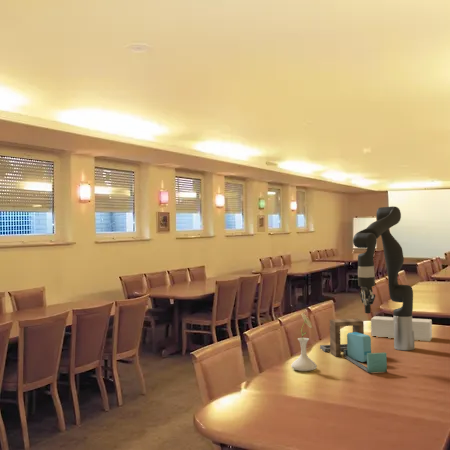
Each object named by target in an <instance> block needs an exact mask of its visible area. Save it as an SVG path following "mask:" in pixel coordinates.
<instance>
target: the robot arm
mask: <svg viewBox="0 0 450 450" xmlns="http://www.w3.org/2000/svg"><path fill="white" fill-rule="evenodd" d="M375 214H376V221H374V222H372V223H370V224H369V225H368V226H367V227H366V228H364V229H361V230H359V231H357V232H356V233H355V235H354V236H353V237H352V243H353V246H355V248H357V249H366V251H365V252H362V253H359V254H358V255H357V283H358V284H357V285H358V287H361V289H360V291H359V292H358V295H359V297H360V301H361V303H362V304H363V306H364V313H365V314H371V313H372V312H371V310H372V309H371V306H372V305H373V304H374V302H375V299H376V294H373V293H374V292H373V287H375V285H376V278H375V277H376V275H375V274H376V273H375V266H374V265H375V263H374V261H375V260H374V256H375V250H376V247H377V242H378V239H379V238H380V237H381V238H380V239H381V242H382V247H383V248H382V249H383V255H384V260H385V266H386V267H385V268H386V273H387V281H388V291H389V292H388V293H389V298H390V300H391V301H392V302H395V303H402V305H401V307H398V308H395V309H393V318H394V339H393V348H394V349H395V350H398V351H413V350H415V348H416V347H415V340H414V331H413V330H412V318H413V310H414V305H413V304H414V290H413V287H412V286H411V285H409V284H399V282H398V280H399V279H398V275H399V273H400V271H401V269H402V267H403V264H404V261H405V260H404V259H405V258H404V252H403V248H402V246H401V244H400V242H399V241H398V240H397V239H396V238H395V237H394V236H393V235H392V233H391V231H390V228H392V227H393V226H396V225H397V224H399V222H400V221H401V218H402V212H401V210H400V208H399V207H397V206H393V205H392V206H380V207H378V208H377V210H376V213H375Z"/></svg>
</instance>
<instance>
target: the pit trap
mask: <svg viewBox="0 0 450 450" xmlns="http://www.w3.org/2000/svg"><path fill="white" fill-rule="evenodd" d="M340 346H341V352H343V349H347V343H342V344H341V343H340ZM319 349H320V350H321V349H322V350H321V351H323V352H325V353H330V344H322V345H321V344H320V345H319Z"/></svg>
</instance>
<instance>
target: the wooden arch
mask: <svg viewBox="0 0 450 450" xmlns="http://www.w3.org/2000/svg"><path fill="white" fill-rule="evenodd" d="M348 326H349V327H350V326H351V327H352V332H358V333H362V334H365V333H364V330H365V329H364V327H365V325H364V320H362V319H360V318H342V319H341V318H337V319H333V318H332V319H329V345H330V352H329V353H330V355H332V356H333V357H336V358H341V357H342V355H341V354H342V351H341V346H340V344H341V327H348Z"/></svg>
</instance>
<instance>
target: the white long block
mask: <svg viewBox="0 0 450 450" xmlns="http://www.w3.org/2000/svg"><path fill="white" fill-rule="evenodd" d="M370 330H371V332H370V333H371V336H378V337H388V338H387V339H391V338H394V318H393V317H392V316H379V315H377V316H376V315H374V316H373V317H372V318H370ZM412 330H413V331H414V341H418V340H420V341H421V342H431V340H432V339H433V321H432V319H430V318H429V319H428V318H413V317H412ZM378 337H377V338H378ZM420 341H419V342H420Z"/></svg>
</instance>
